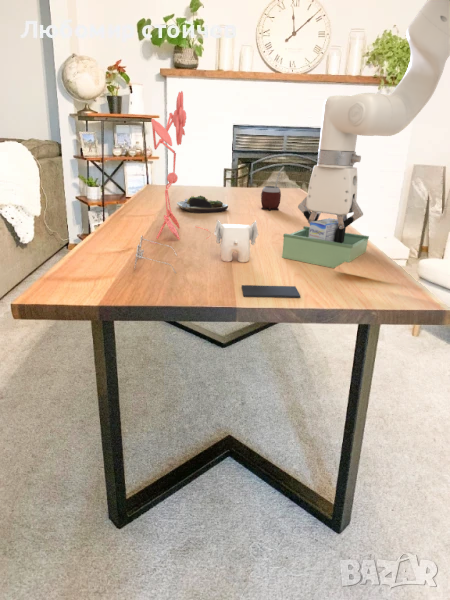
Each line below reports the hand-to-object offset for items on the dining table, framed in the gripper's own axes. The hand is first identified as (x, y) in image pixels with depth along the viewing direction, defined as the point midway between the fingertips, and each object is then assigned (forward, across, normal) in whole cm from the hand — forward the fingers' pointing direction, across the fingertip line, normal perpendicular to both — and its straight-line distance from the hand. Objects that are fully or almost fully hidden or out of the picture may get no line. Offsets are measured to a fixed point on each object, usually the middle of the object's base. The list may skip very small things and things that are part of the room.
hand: (325, 242), depth 101 cm
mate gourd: (+4, +41, -50) cm, 65 cm away
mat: (+4, -1, +28) cm, 28 cm away
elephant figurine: (+4, +16, +13) cm, 21 cm away
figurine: (+4, +38, +4) cm, 38 cm away
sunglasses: (+4, +26, +28) cm, 38 cm away
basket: (+4, 0, 0) cm, 4 cm away
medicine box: (+4, 0, 0) cm, 4 cm away
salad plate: (+4, +59, -32) cm, 67 cm away
